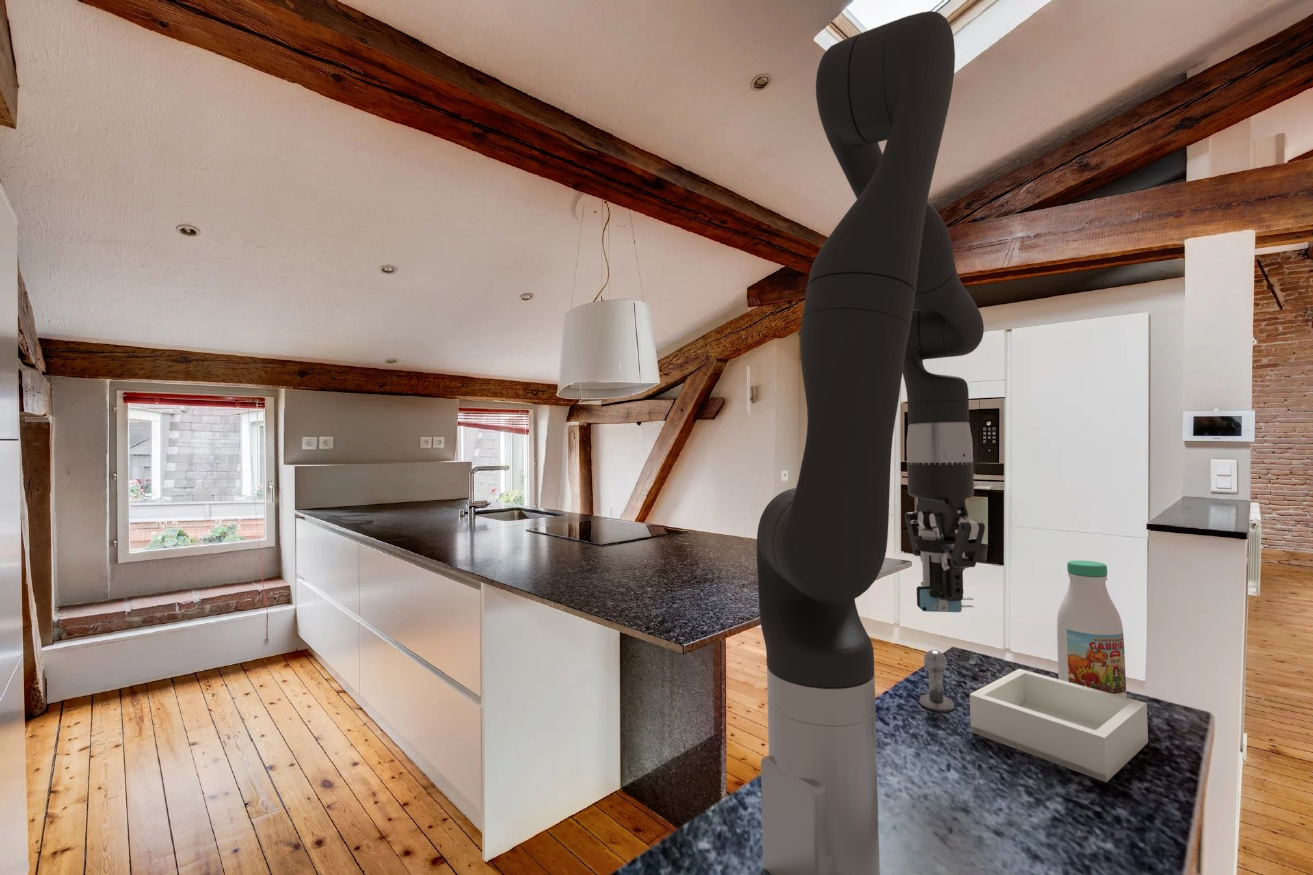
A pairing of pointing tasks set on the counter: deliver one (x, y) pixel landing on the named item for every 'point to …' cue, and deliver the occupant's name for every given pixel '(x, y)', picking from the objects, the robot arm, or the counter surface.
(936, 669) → the ball stud post
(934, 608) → the push button
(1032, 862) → the counter surface
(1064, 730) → the bin
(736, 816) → the counter surface
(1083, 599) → the milk bottle
